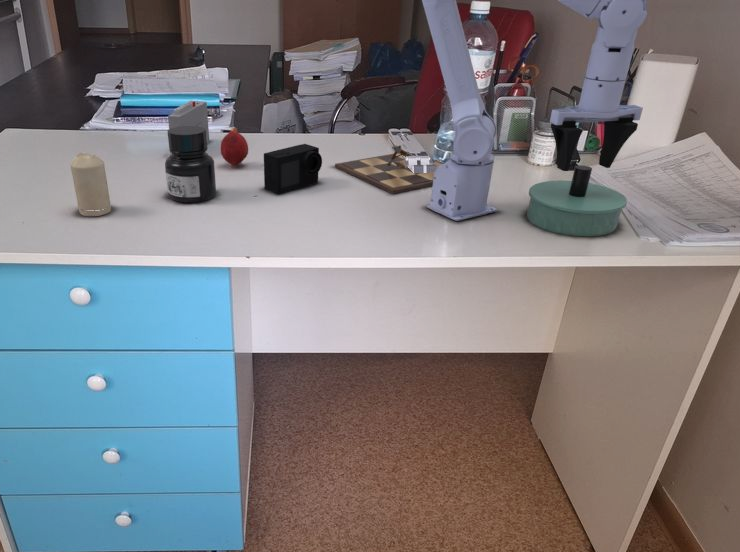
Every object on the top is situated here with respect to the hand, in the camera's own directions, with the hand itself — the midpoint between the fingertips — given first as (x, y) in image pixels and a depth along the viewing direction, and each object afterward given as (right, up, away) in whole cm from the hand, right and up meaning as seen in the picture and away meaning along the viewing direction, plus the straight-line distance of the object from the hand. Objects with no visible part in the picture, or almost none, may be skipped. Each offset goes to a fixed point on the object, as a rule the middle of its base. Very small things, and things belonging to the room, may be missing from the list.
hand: (583, 167), depth 104 cm
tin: (0, -8, +5) cm, 9 cm away
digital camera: (-47, +2, +20) cm, 51 cm away
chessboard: (-25, +7, +28) cm, 38 cm away
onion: (-59, +9, +32) cm, 68 cm away
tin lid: (0, -4, +3) cm, 5 cm away
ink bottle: (-66, -1, +16) cm, 68 cm away
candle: (-82, -5, +9) cm, 83 cm away
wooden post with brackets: (-24, +7, +27) cm, 37 cm away
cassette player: (-70, +16, +43) cm, 84 cm away
